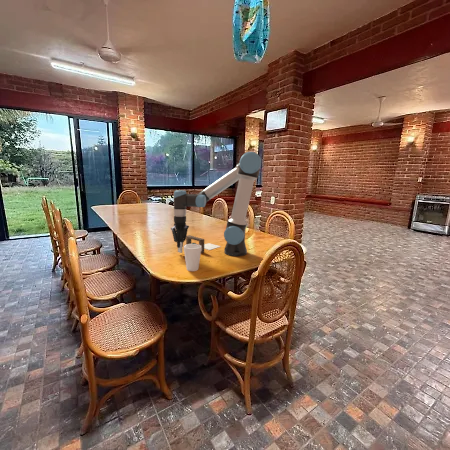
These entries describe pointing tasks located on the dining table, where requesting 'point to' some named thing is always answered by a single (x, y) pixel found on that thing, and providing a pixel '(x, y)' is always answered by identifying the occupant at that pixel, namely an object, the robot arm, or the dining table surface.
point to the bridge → (201, 241)
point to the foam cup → (192, 256)
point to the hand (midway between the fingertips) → (180, 252)
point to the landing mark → (210, 246)
